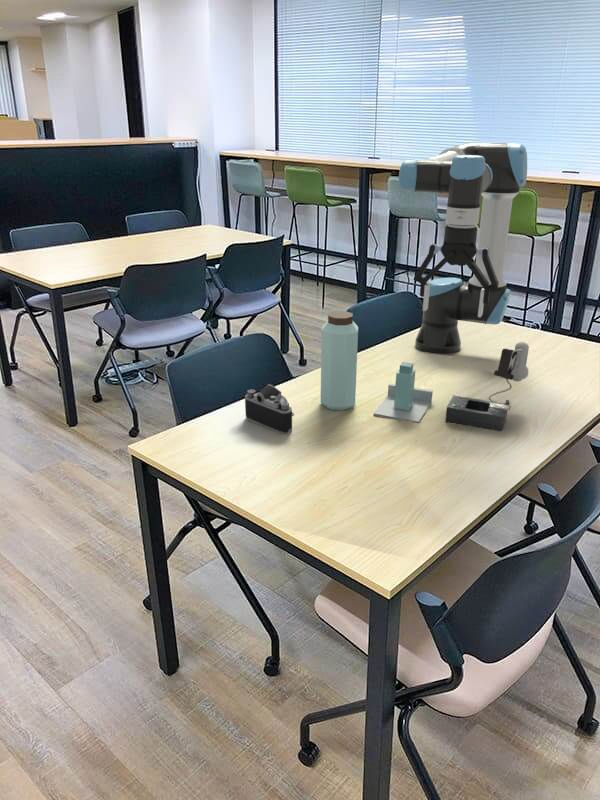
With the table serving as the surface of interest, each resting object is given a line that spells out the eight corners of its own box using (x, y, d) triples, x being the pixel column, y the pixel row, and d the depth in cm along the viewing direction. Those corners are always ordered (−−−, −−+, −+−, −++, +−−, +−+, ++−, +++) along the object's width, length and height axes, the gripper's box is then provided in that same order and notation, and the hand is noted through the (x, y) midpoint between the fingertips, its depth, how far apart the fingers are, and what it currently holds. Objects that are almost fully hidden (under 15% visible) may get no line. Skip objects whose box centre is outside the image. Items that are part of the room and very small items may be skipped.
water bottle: (313, 407, 169) (314, 317, 159) (329, 393, 177) (331, 307, 167) (347, 414, 165) (350, 322, 154) (362, 400, 173) (366, 312, 162)
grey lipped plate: (388, 395, 176) (389, 383, 175) (431, 402, 172) (432, 390, 170) (373, 415, 164) (374, 402, 163) (418, 423, 160) (420, 411, 159)
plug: (398, 402, 170) (401, 360, 165) (412, 404, 169) (416, 362, 164) (393, 408, 167) (396, 365, 162) (408, 410, 165) (412, 368, 160)
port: (451, 410, 167) (453, 394, 165) (509, 420, 162) (511, 403, 160) (445, 423, 160) (446, 406, 158) (504, 434, 155) (507, 416, 153)
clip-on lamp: (504, 418, 163) (514, 353, 155) (482, 411, 167) (491, 346, 159) (526, 404, 170) (536, 341, 163) (504, 397, 174) (514, 335, 167)
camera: (308, 425, 160) (308, 388, 155) (285, 436, 154) (285, 399, 150) (264, 407, 169) (263, 372, 165) (241, 417, 163) (240, 382, 159)
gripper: (405, 224, 150) (399, 310, 159) (514, 231, 142) (502, 322, 150) (413, 219, 157) (407, 303, 165) (518, 226, 148) (505, 314, 157)
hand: (452, 312), depth 158 cm, fingers open, 13 cm apart
